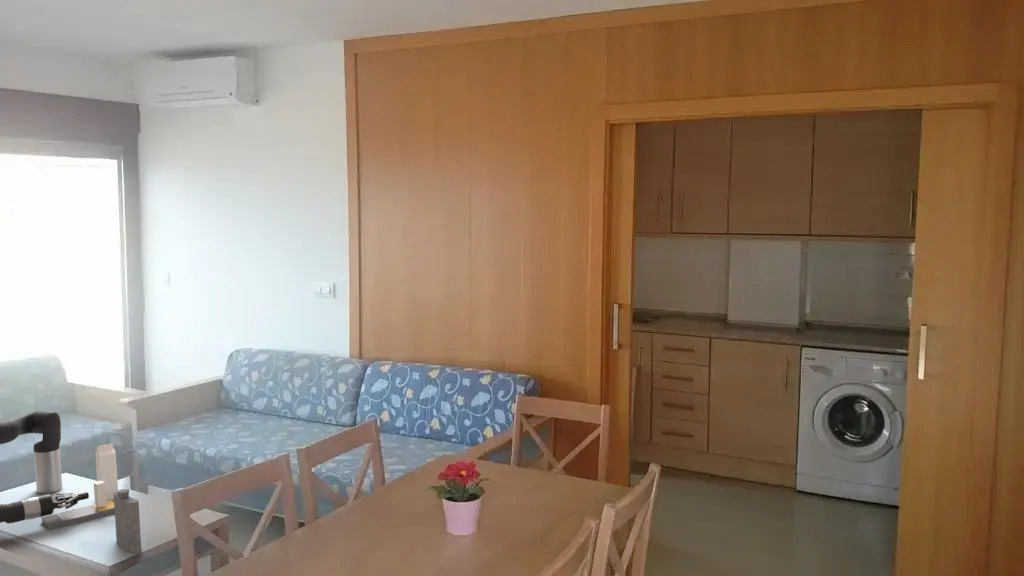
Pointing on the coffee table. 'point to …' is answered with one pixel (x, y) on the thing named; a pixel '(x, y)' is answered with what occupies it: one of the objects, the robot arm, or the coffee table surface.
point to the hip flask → (127, 521)
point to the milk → (107, 469)
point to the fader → (100, 494)
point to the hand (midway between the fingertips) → (88, 495)
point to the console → (77, 515)
